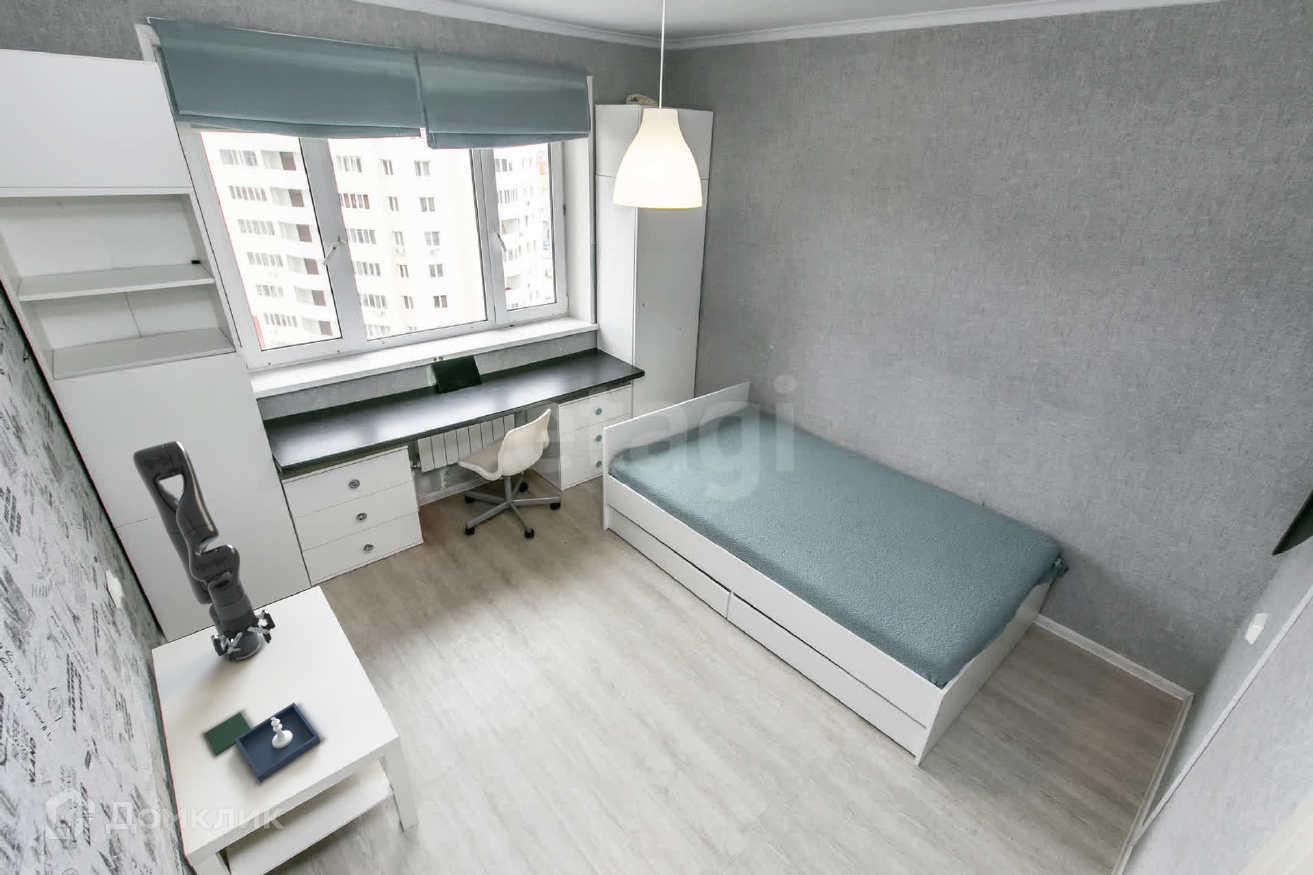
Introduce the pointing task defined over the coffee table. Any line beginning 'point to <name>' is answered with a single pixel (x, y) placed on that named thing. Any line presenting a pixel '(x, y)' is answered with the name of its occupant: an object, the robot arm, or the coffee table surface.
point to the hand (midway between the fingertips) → (251, 650)
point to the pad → (226, 733)
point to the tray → (264, 754)
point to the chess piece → (280, 735)
